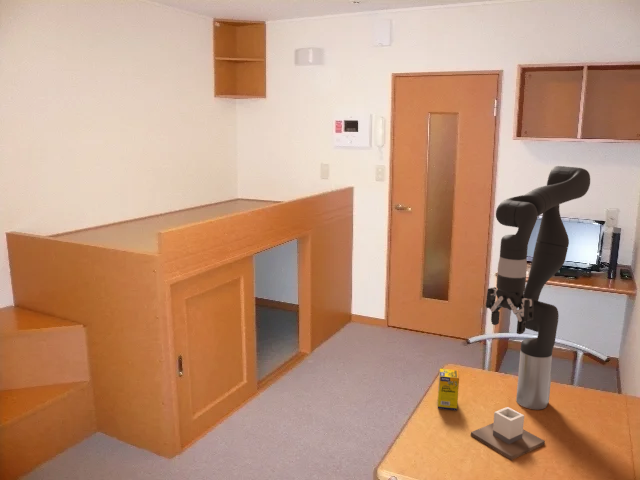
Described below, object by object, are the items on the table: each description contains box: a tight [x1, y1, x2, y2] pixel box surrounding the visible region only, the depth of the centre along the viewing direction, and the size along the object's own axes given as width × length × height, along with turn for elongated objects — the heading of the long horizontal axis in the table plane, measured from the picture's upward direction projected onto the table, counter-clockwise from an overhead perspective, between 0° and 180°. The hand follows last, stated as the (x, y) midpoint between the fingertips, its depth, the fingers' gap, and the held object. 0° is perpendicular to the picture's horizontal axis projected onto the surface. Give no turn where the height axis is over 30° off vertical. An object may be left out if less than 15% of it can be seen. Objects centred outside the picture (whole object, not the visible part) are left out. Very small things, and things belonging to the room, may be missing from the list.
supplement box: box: [437, 368, 460, 412], centre depth 174 cm, size 6×6×11 cm
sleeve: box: [493, 406, 525, 444], centre depth 155 cm, size 6×6×7 cm
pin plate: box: [470, 416, 546, 461], centre depth 155 cm, size 14×14×6 cm
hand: (507, 328), depth 157 cm, fingers open, 8 cm apart
